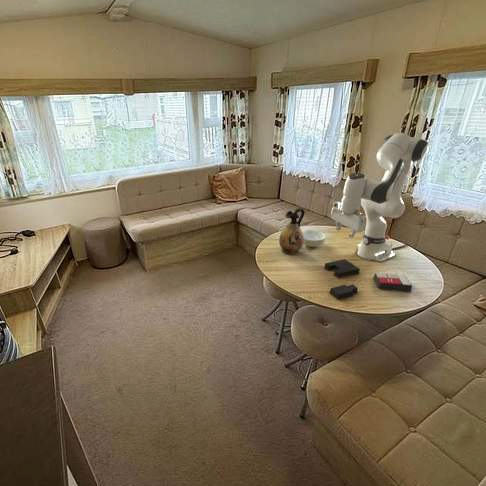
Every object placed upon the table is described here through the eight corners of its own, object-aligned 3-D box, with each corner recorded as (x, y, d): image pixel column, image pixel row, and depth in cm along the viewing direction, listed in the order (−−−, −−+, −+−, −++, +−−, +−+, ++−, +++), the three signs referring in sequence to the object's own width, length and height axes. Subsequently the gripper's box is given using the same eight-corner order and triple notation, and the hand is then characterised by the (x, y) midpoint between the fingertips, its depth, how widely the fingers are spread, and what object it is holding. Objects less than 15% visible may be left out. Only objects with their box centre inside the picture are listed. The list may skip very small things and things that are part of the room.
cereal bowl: (303, 237, 215) (304, 228, 212) (327, 242, 206) (328, 233, 203) (294, 245, 203) (295, 236, 200) (319, 252, 194) (320, 242, 191)
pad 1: (344, 263, 181) (344, 259, 179) (358, 273, 170) (359, 268, 169) (324, 267, 177) (325, 263, 175) (338, 277, 167) (339, 273, 165)
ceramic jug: (285, 258, 188) (289, 213, 174) (274, 247, 201) (277, 205, 188) (309, 254, 192) (315, 210, 178) (296, 244, 205) (301, 202, 192)
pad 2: (350, 287, 158) (351, 283, 157) (358, 294, 153) (359, 289, 151) (329, 292, 154) (330, 287, 153) (337, 299, 149) (338, 294, 148)
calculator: (374, 271, 164) (405, 273, 161) (373, 278, 166) (403, 280, 163) (380, 282, 155) (412, 284, 151) (378, 289, 157) (410, 291, 153)
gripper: (371, 213, 137) (364, 240, 143) (341, 200, 155) (336, 225, 160) (360, 215, 135) (354, 242, 141) (331, 202, 153) (326, 226, 159)
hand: (344, 233), depth 151 cm, fingers open, 8 cm apart
